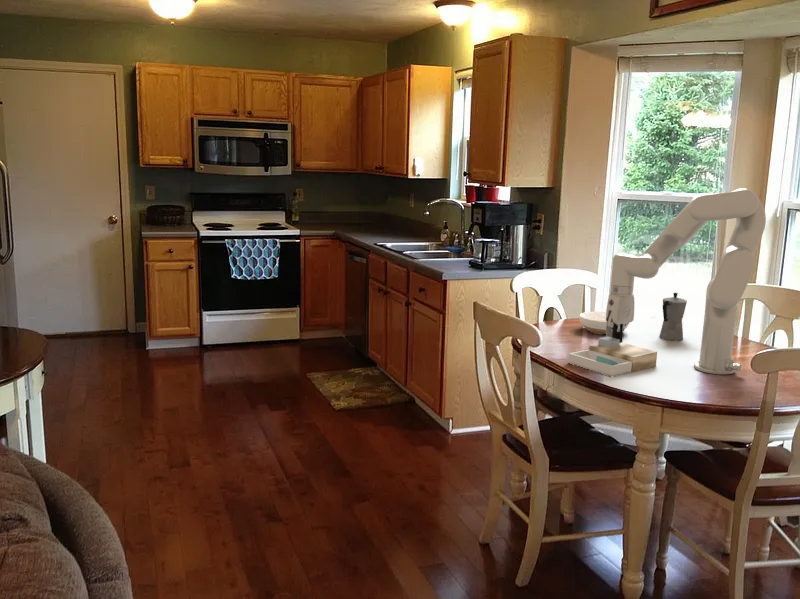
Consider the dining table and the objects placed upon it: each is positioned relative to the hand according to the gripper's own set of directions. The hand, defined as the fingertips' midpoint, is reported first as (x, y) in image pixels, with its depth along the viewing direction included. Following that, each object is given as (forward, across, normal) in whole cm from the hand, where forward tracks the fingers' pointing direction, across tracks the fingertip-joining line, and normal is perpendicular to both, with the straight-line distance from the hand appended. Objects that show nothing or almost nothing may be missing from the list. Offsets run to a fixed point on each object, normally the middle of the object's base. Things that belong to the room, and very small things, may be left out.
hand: (616, 341), depth 255 cm
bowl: (+6, +29, +29) cm, 41 cm away
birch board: (+6, -3, -5) cm, 8 cm away
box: (+6, -15, -5) cm, 16 cm away
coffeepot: (+6, +43, +8) cm, 44 cm away
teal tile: (+2, -16, -9) cm, 18 cm away
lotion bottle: (+6, +17, +14) cm, 23 cm away
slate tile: (+1, -4, 0) cm, 4 cm away
